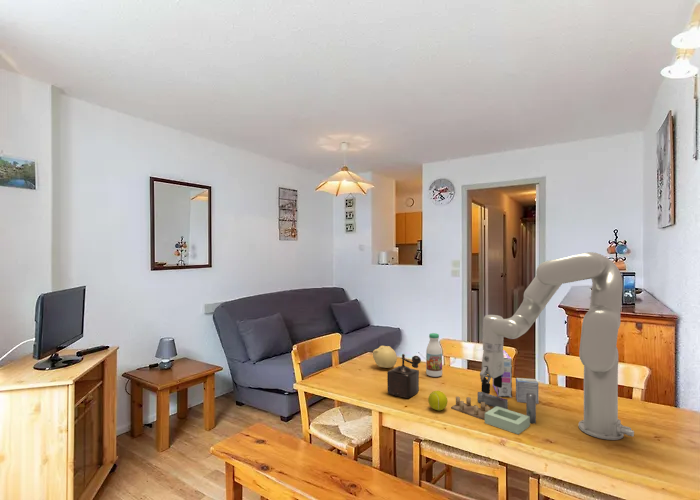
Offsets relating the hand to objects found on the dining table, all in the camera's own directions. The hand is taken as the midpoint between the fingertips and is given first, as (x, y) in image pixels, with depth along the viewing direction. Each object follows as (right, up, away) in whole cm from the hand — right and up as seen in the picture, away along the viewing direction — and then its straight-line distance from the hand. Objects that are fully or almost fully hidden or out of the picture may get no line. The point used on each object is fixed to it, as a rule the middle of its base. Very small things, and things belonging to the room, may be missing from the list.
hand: (491, 389), depth 150 cm
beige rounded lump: (-37, -7, +50) cm, 63 cm away
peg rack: (-10, -6, -6) cm, 13 cm away
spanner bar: (+1, -6, 0) cm, 6 cm away
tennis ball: (-22, -7, -4) cm, 23 cm away
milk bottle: (-15, -6, +37) cm, 40 cm away
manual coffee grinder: (-31, -7, +12) cm, 34 cm away
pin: (+8, -6, -15) cm, 18 cm away
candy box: (+10, -6, +15) cm, 19 cm away
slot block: (-1, -6, -17) cm, 18 cm away
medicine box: (+16, -6, +4) cm, 17 cm away
